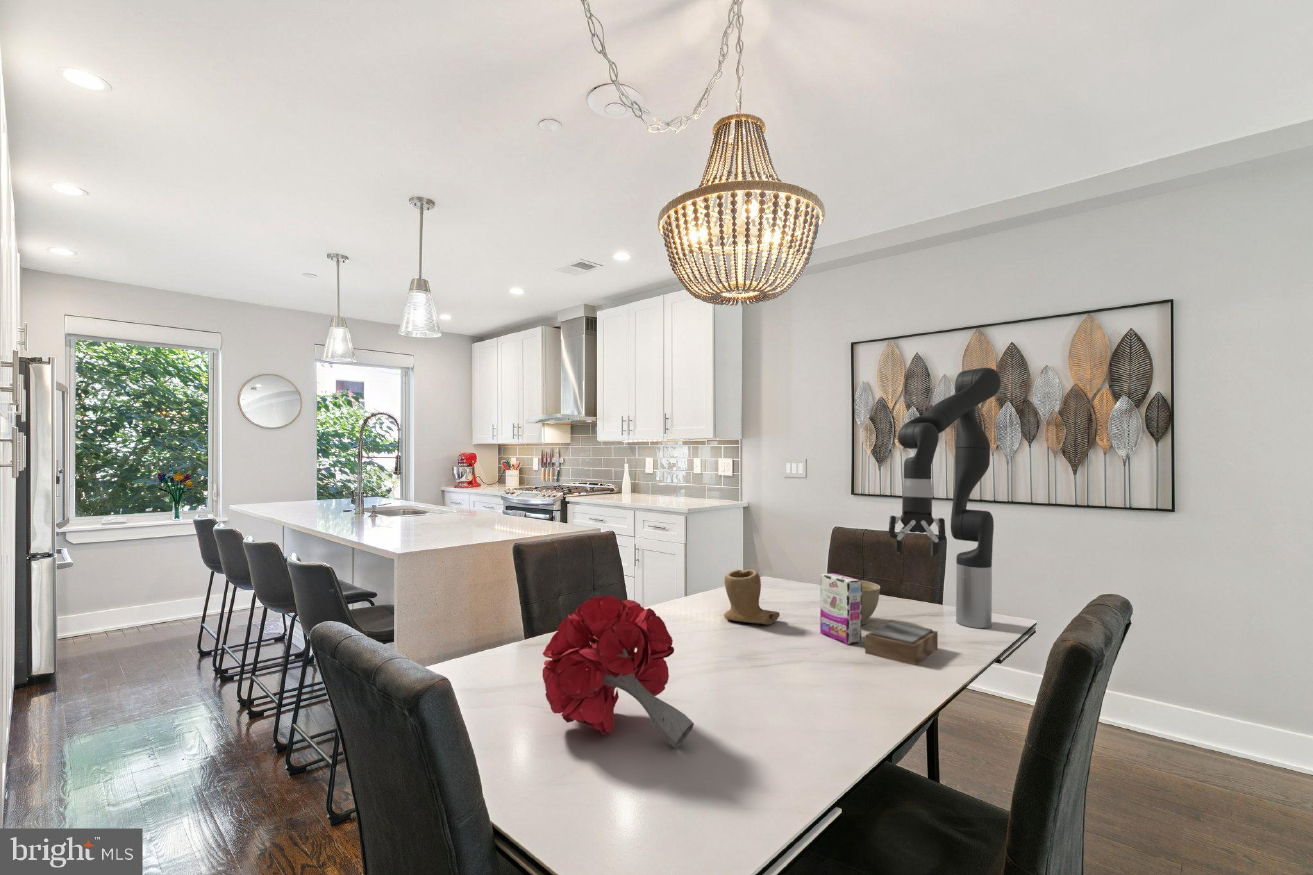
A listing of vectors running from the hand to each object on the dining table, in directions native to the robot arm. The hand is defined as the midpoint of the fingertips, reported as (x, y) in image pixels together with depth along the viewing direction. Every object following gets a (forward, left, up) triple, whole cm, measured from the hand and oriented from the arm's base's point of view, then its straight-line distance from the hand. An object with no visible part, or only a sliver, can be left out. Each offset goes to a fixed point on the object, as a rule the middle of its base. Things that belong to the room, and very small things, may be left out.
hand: (916, 554), depth 167 cm
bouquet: (+94, -19, -22) cm, 99 cm away
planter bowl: (-1, -19, -22) cm, 29 cm away
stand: (+15, +2, -22) cm, 27 cm away
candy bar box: (+16, -14, -22) cm, 31 cm away
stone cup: (+21, -40, -22) cm, 51 cm away
